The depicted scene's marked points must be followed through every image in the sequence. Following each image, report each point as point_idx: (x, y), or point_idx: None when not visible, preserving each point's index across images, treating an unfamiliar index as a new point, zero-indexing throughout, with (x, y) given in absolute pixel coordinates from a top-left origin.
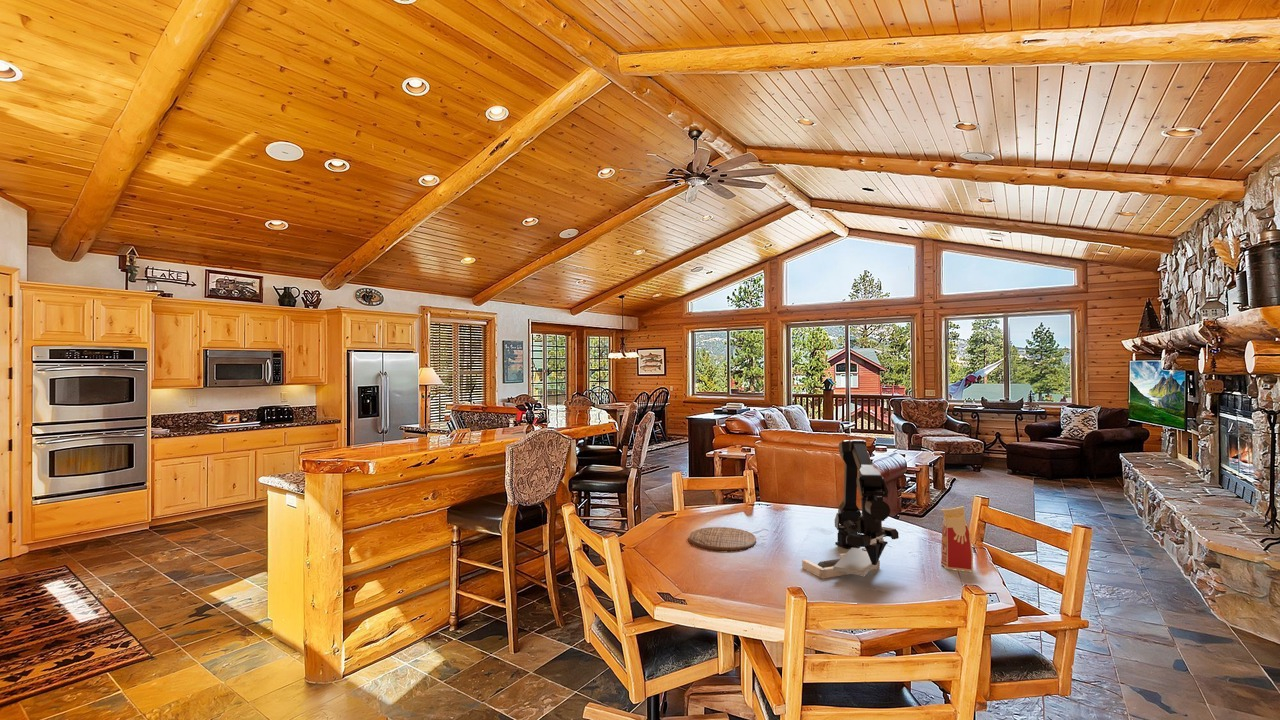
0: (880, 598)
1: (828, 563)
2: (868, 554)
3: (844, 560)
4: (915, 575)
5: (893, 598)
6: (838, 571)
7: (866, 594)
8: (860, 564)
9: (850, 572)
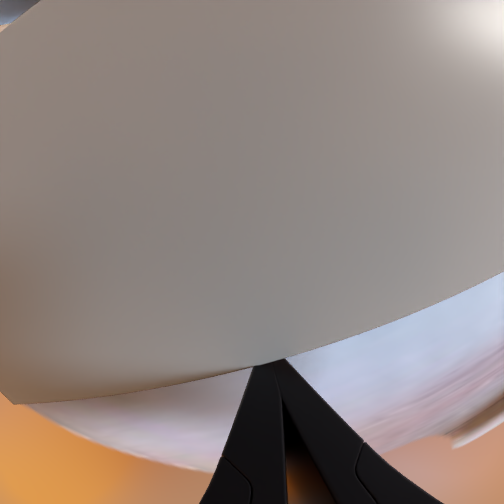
0: (57, 405)
1: None
2: (224, 453)
3: (3, 99)
4: (466, 353)
5: (108, 429)
6: None
7: None
8: (84, 323)
9: None
